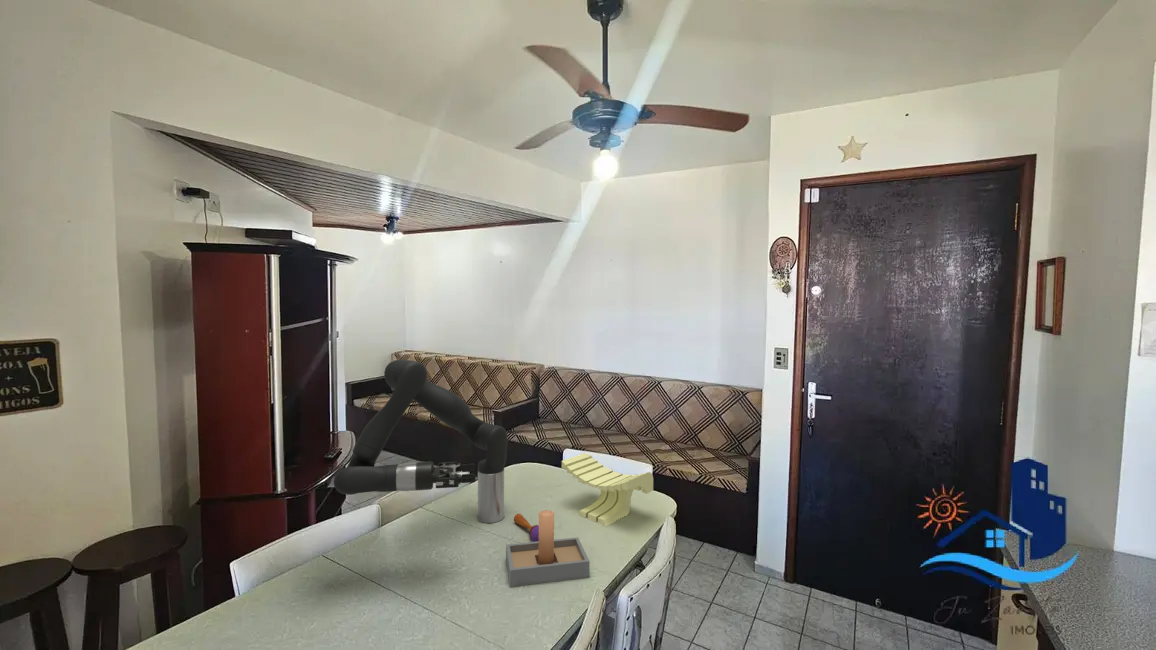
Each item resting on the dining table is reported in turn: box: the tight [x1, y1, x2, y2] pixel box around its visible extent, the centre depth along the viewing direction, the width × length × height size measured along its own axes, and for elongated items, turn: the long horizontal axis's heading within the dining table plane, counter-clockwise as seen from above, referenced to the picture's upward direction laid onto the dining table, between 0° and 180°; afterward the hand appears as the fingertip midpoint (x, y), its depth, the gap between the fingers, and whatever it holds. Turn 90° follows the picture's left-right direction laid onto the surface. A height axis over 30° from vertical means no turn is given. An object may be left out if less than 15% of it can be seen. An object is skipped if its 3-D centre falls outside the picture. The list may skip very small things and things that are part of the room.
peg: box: [537, 510, 555, 565], centre depth 136 cm, size 4×4×16 cm
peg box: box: [505, 537, 590, 588], centre depth 137 cm, size 14×22×4 cm, turn 103°
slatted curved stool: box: [561, 452, 654, 527], centre depth 173 cm, size 30×16×18 cm, turn 48°
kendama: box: [513, 513, 539, 542], centre depth 157 cm, size 6×6×20 cm
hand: (475, 472), depth 135 cm, fingers open, 8 cm apart
